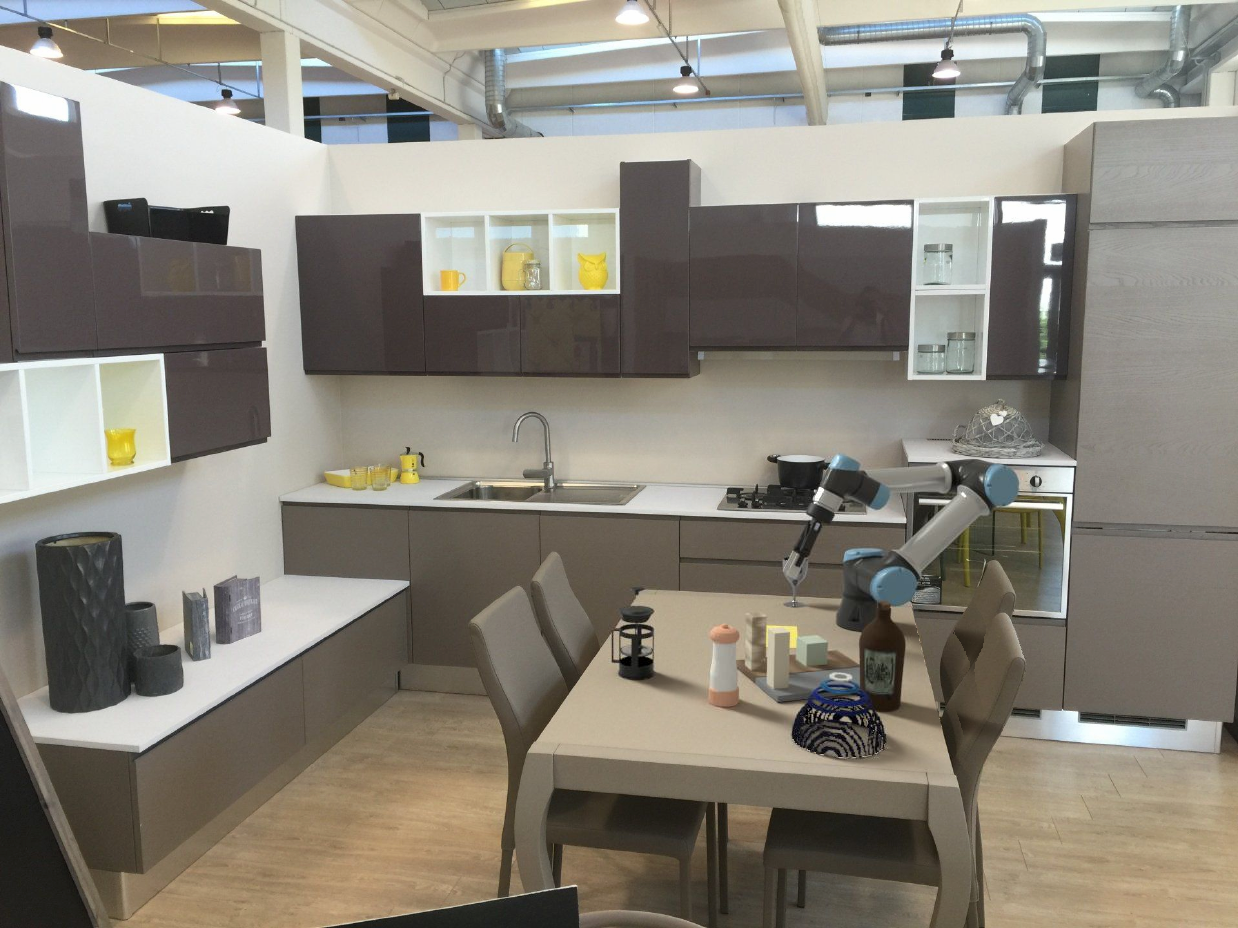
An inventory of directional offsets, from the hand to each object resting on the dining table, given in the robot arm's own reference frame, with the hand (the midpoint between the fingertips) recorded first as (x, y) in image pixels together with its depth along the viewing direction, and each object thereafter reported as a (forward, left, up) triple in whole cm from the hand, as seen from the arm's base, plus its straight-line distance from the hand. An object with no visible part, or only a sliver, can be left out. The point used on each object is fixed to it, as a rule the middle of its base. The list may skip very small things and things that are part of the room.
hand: (788, 575), depth 280 cm
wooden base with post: (+6, +18, -20) cm, 28 cm away
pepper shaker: (+33, +34, -21) cm, 51 cm away
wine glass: (-20, -37, -21) cm, 47 cm away
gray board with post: (+6, +32, -20) cm, 38 cm away
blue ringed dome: (+17, +61, -21) cm, 66 cm away
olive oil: (-2, +46, -21) cm, 50 cm away
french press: (+48, +10, -21) cm, 53 cm away
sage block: (+2, +18, -19) cm, 26 cm away
